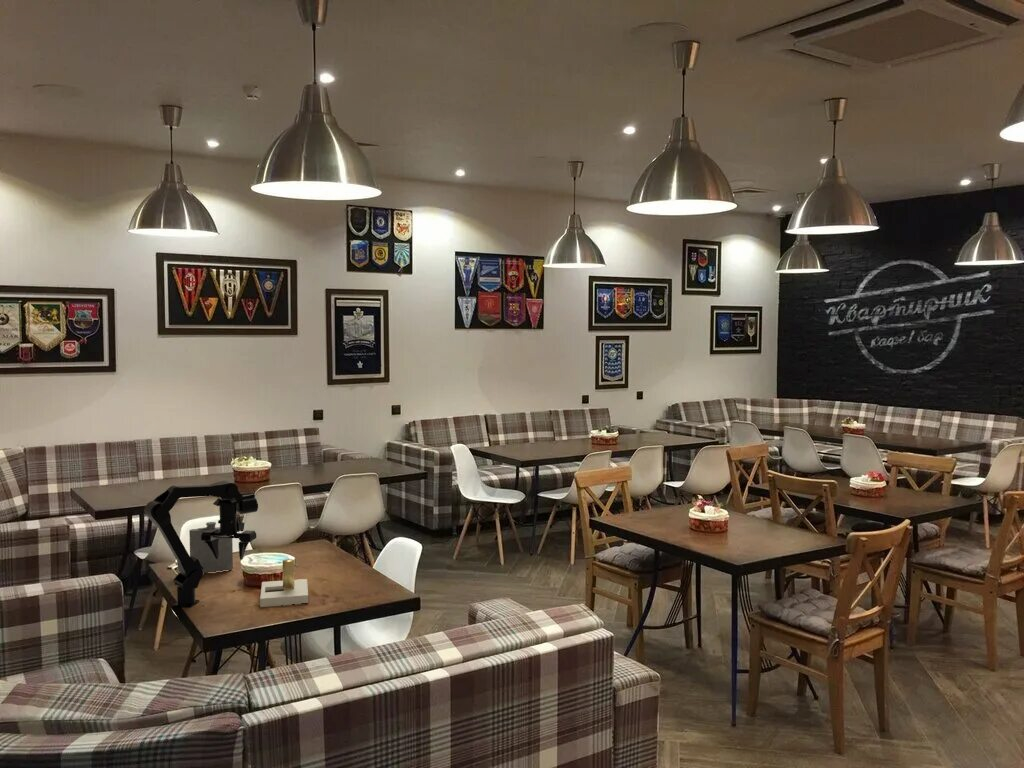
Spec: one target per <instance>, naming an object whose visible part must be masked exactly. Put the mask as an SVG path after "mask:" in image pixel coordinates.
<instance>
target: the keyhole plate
mask: <svg viewBox="0 0 1024 768" xmlns="http://www.w3.org/2000/svg"><path fill="white" fill-rule="evenodd" d="M260 588H261V590H260V597H259V600H260V602H259V604H260V605H259V606H260V608H267V607H269V608H270V607H279V606H280V607H282V606H281V605H283V606H293V605H292V604H295V605H302V604H301V603H308V604H309V591H308V578H299V579H294V587H292V589H289V590H285V588H283V580H272V581H271V580H270V581H261V587H260Z"/></svg>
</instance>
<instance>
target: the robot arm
mask: <svg viewBox="0 0 1024 768" xmlns="http://www.w3.org/2000/svg"><path fill="white" fill-rule="evenodd" d="M202 497H217V499H216V500H215V501H214V502H213V503H212V504H213V505H214V506H216V507H219V519H218V520H217V523H218V524H219V527H220V531H219V532H218V530H213V529H208V530H206V531H204V532H202V534H201V540H205V541H204V543H207V544H208V546H209V547H210V549H211V550H212V552H213V554H214V556H215V558H216V559H218V557H219V551H218V541H219V538H232V539H238V540H239V542H238V553H239V554H238V555H239V560H240V561H241V560H243V558H244V556H245V553H246V550H247V548H248V545H249V543H251V542H253V541H254V540H256V539H257V532H256V531H255V530H245V523H246V522H244V521H240V520H239V517H238V516H237V513H239V514H240V515H244V514H251V513H256V512H258V510H259V503H258V501H257V500H258V499H257V498H256V494H255V493H249V494H244V495H243V494H241V492H240V491H239V488H238V485H237V484H236V483H234V482H232V481H231V482H230V481H229V480H228V481H227V480H221V481H216V482H213V483H210V484H200V485H199V484H198V485H197V484H196V485H194V484H193V485H171V486H169V487H168V488H167V489H166V490H165V491H164V492H162V493H161V494H160V495H157V496H156V497H155V498H154V499H153V500H150V501H149V502H148V503H146V505H145V506H144V510H143V511H144V514H145V515H146V517H147V518H149V520H150V521H151V522H152V523H153V525H155V526H156V527H157V528H158V529H159V531H160V534H161V535H162V537H163V538H164V540H165V542H166V544H167V546H168V548H169V549H170V552H172V555H173V556H174V557H175V560H176V562H177V563H176V564H177V569H178V572H179V573H178V574H177V575H176V576H175V577H174V578H173V580H172V581H173V584H174V585H175V586H177V587H176V596H177V597H176V599H177V602H175V603H174V604H173V607H181V608H182V607H184V608H186V607H187V608H191V607H192V606H194V605H196V604H198V603H199V602H200V599H196V589H197V588H198V587H199V584H200V581H201V580H202V578H203V576H204V574H203V570H202V569H204V568H203V567H202V566H201V565H200V562H199V560H198V559H197V558H195V557H193V556H191V557H190V553H188V551H187V549H186V547H185V546H184V545H185V544H183V541H182V540H181V538H180V536H179V535H178V533H177V531H176V529H175V527H174V526H173V524H172V518H171V517H172V516H171V514H170V511H171V510H172V509H173V508H174V507H175V505H176V503H177V502H178V500H180V499H181V498H202ZM231 499H233V500H231ZM226 535H227V536H226ZM230 535H232V536H230Z"/></svg>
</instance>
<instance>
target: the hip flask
mask: <svg viewBox="0 0 1024 768" xmlns="http://www.w3.org/2000/svg"><path fill="white" fill-rule="evenodd" d="M205 525H206V527H198V528H191V529H189V534H188V535H189V556H190V557H191V556H193V557H195V558H197V559H198V560H199V562H200V565H201V566H202V567H203V568H204V569H202V570H203V573H208V572H216V571H223V570H232V569H233V570H234V559H233V558H234V557H233V556H234V554H233V553H234V550H233V538H219V541H218V551H219V557H218V559H216V558H215V556H214V554H213V552H212V550H211V549H210V547H209V546H208V544H207V543H204V541H205V540H201V534H202V532H204V531H206V530H208V529H213V530H218V532H219V531H220V526H219V527H218V526H217V527H216V525H217V522H216V521H208V522H206V523H205ZM226 536H227V535H226ZM230 536H233V535H230ZM233 570H232V571H233Z"/></svg>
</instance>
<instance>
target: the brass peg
mask: <svg viewBox="0 0 1024 768" xmlns="http://www.w3.org/2000/svg"><path fill="white" fill-rule="evenodd" d="M294 580H295V559H293V558H287V559H283V560H282V581H283V588H285V590H289V589H292V587H294Z"/></svg>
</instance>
